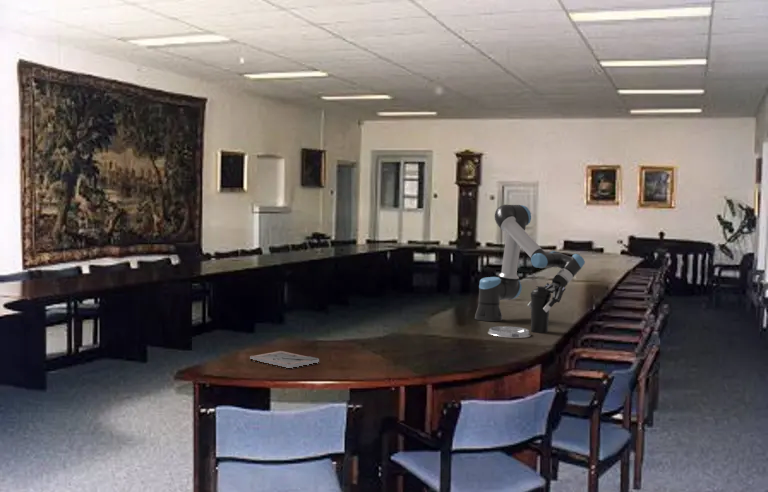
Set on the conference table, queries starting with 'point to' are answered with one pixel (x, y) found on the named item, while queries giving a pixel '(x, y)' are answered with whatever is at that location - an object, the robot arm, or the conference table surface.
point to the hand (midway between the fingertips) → (536, 308)
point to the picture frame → (285, 359)
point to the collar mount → (509, 332)
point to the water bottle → (539, 310)
